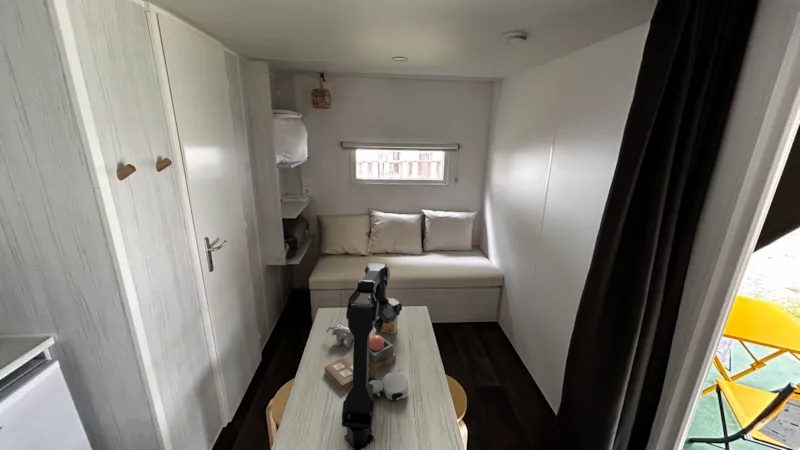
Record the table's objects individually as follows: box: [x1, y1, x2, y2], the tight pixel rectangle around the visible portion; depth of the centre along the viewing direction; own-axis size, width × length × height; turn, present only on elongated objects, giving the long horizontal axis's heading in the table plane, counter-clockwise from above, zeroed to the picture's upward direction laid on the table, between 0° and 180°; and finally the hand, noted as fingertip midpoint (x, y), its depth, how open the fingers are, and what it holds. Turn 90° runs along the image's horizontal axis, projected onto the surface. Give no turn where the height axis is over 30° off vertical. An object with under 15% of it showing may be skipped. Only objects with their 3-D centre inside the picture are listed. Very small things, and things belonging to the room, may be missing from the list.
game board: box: [323, 333, 397, 392], centre depth 125 cm, size 24×12×6 cm, turn 132°
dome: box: [369, 334, 385, 353], centre depth 128 cm, size 6×6×6 cm
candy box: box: [381, 296, 399, 335], centre depth 146 cm, size 9×4×15 cm, turn 70°
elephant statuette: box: [326, 321, 354, 349], centre depth 139 cm, size 9×12×8 cm
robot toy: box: [368, 368, 410, 401], centre depth 114 cm, size 12×4×15 cm
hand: (378, 332), depth 126 cm, fingers closed
